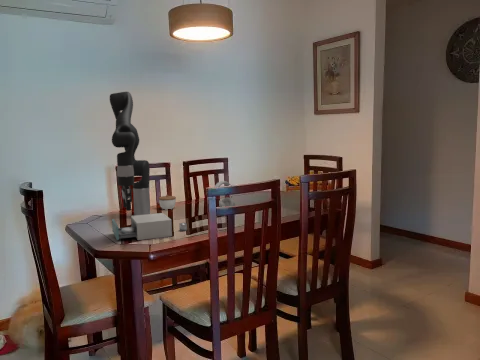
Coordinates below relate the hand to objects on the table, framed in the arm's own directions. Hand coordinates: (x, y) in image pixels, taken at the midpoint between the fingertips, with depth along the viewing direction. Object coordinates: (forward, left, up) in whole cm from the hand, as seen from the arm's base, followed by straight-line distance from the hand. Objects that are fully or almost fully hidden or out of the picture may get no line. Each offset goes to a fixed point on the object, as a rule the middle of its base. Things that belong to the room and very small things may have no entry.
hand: (127, 208), depth 192 cm
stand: (0, +27, -13) cm, 30 cm away
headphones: (-27, +59, -14) cm, 66 cm away
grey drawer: (0, +1, -12) cm, 12 cm away
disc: (0, 0, -11) cm, 11 cm away
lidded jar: (-59, +33, -14) cm, 69 cm away
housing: (0, +11, -13) cm, 17 cm away
